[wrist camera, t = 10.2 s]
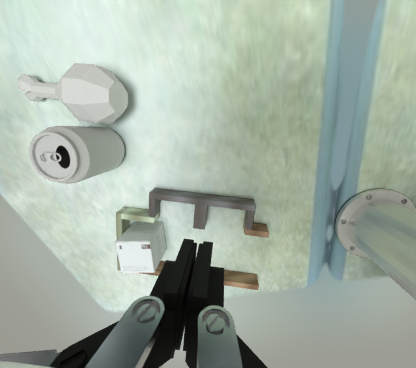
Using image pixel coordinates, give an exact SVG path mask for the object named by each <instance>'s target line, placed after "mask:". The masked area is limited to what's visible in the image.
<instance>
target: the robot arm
mask: <svg viewBox="0 0 416 368" xmlns="http://www.w3.org/2000/svg"><path fill="white" fill-rule="evenodd" d="M335 232H336V235H337V238H338V240H339V242H340V243H341V244H342V245H343V246H344V247H345V248H346V249H347V250H348V251H349V252H351V253H353V254H355V255H357V256H361V257H366V258H370V259H371V260H372V261H373V262H374V263H376V264H377V265H378V266H379V267H380V268H381V269H382V270H383V271H384V272H385V273H387V274H388V275H389V276H390V277H391V278H392V279H393V280H394V281H396V283H398V284H399V285H400V286H401V287H402V288H403V289H404V290H405V291H406V292H408V293H409V294H410V295H411V296H412V297H413V298H414V299H415V300H416V208H415V206H414V204H413V203H412V202H411V200H410V199H409V198H407V197H406V196H404V195H403V194H400V193H398V192H395V191H392V190H388V189H373V190H368V191H365V192H362V193H360V194H358V195H356V196H354V197H353V198H351V199H350V200H349V201H348V202H347V203H346V204H345V205H344V206H343V207H342V208H341V210H340V212H339V213H338V216H337V218H336V223H335ZM212 247H213V242H205V241H204V242H203V244H201V243H200V244H199V248H198V253H197V257H196V249H197V243H194V240H190V239H184V240H183V243H182V245H181V248H180V251H179V253H178V256H177V258H176V261H168V260H166V262H165V263H164V266H163V268H162V270H161V272H160V274H159V276H158V279H157V281H156V283H155V285H154V287H153V290H152V292H151V294H150V296H144V297H142V298H139V299H137V300H136V301H134V302H133V303H132V304H131V306H130V307H129V308H128V310H127V311H126V312H125V314H124V315H123V317H122V318H121V319H120V320H119V321H118V322H116V323H114V324H112V325H110V326H108V327H106V328H104V329H102V330H100V331H98V332H96V333H94V334H92V335H91V336H88V337H87V338H85V339H83V340H81V341H79V342H77V343H75V344H73V345H71V346H69V347H68V348H66V349H65V350H63V351H62V352H60V353H57V351H56V349H55V350H43V351H32V352H20V353H9V354H0V368H162V365H163V364H164V363H165V362H167V361H168V360H169V359H170V358H173V357H174V352H175V349H176V350H179V349H180V345H181V341H182V336H183V332H184V327H185V333H184V346H183V351H186V363H187V365H188V366H189V368H267V367H266V366H265V364H264V363H263V362H262V361H261V360H260V359H259V358H258V357H257V356H256V355H255V354H254V353H253V352H252V350H251V349H250V348H249V347H248V346H247V345H246V344H245V343H244V342H243V341H242V340H241V339H240V338H239V336H238V335H237V334H236V331H235V325H234V321H233V318H232V316H231V314H230V313H229V312H228V311H227V310H226V309H225V308H223V306H224V303H223V302H224V268H219V267H212V266H210V265H211V256H212ZM195 260H196V261H195Z"/></svg>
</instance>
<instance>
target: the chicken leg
mask: <svg viewBox="0 0 416 368" xmlns="http://www.w3.org/2000/svg"><path fill="white" fill-rule="evenodd" d="M18 86H19V89H20V90H24V91H28V92H27V93H25V94H24V95H25V96H26V97H27V98H28V99H29V100H31V101H37V102H39V101H42V100H43V99H44V98H50V99H59V100H61V102H62V103H63V104H64V105H65V106H66V107H67V108H68V109H69V110H70V112H71V113H72V114H73V115H74V116H75V117H76V118H77V119H78V120H79V121H87V122H95V123H106V124H112V123H113V122H114V121H115V120H116V119H118V118H119V117H120V116H121V115H122V114H123V113H124V111H125V109H126V108H127V106H128V93H127V91H126V89H125V88H124V86H123V84H122V83H121V82H120V81H119V80H118V79H117V78H116V77H115V76H114V75H113V74H112V72H111V71H109V70H106V69H104V68H101V67H99V66H96V65H94V64H78V63H74V64H73V66H72V67H71V68H70V69H69V70H68V71H67V72H66V73H65V74H64V75H63V76H62V77H61V79H60V80H59V82H58V84H50V83H40V82H39V81H38V80H37V79H36V78H35V77H33V76H30V75H27V74H22V75H21V76H20V77H19V78H18Z"/></svg>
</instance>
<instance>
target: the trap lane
mask: <svg viewBox="0 0 416 368" xmlns="http://www.w3.org/2000/svg"><path fill="white" fill-rule="evenodd" d="M160 200H166V201H174V202H182V203H190V204H195V213H194V225H193V228H197V229H205V225H206V219H207V209H208V206H215V207H224V208H232V209H240V210H246V213H245V219H244V226H243V227H244V233H245V235H252V236H260V237H267V238H268V236H269V231H268V228H267V226H266V224H259V223H253V218H254V212H255V206H256V205H255V203H254V200H253V199H244V198H236V197H227V196H219V195H210V194H202V193H193V192H185V191H176V190H168V189H159V188H155V189H153V190H152V191H151V192H150V193H149V210H146V209H138V208H130V207H123V208H122V209H121V210H119V211H118V212H117V213H116V231H117V239H118V238H119V237H120V236H121V235H122V234H123V233H124V232H125V231H126V230H127V229H128V228H129V220H134V221H142V222H150V223H155V221H156V220H157V219H158V217H159V216H160ZM117 263H118V270H121V269H120V264H119V258H118V254H117ZM164 263H165V262H163V261H160V263H159V265H158V267H157V269H156V271H155V273H142V274H149V275H156V276H159V274H160V272H161V270H162V268H163V266H164ZM224 285H226V286H233V287H240V288H247V289H254V290H258V287H259V284H258V279H257V274H250V273H243V272H235V271H228V270H224Z"/></svg>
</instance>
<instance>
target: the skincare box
mask: <svg viewBox="0 0 416 368" xmlns="http://www.w3.org/2000/svg"><path fill="white" fill-rule="evenodd" d="M115 245H116V249H117V254H118V258H119V264H120V269H121V273H155V271H156V269H157V267H158V265H159V263H160V261H161V258H162V257H163V254H164V252H165V251H166V243H165V236H164V229H163V222H155V223H150V222H139V223H133V224H132V225H131V226H130V227H129V228H128V229H127V230H126V231H125V232H124V233H123V234H122V235H121V236H120V237H119V238H118V239H117V240H116V241H115Z"/></svg>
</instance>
